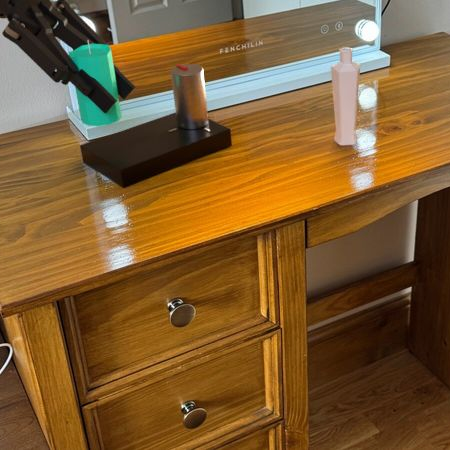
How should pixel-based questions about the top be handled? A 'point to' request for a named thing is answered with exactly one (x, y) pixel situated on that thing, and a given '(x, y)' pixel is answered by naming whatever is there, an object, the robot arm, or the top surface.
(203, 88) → the silver metal cylinder
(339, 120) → the perfume bottle
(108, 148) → the block
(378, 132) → the top surface
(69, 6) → the robot arm
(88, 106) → the candle
